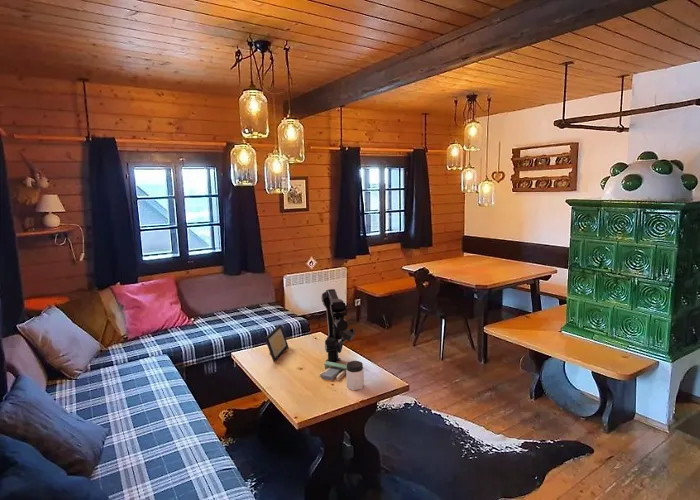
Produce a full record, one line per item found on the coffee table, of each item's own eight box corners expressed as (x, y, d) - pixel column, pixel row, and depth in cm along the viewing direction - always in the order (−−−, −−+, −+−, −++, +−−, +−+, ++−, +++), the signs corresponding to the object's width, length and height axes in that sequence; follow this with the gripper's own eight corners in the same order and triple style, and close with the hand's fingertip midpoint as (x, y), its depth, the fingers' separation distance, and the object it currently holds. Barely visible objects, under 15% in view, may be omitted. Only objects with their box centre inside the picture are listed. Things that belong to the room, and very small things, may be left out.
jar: (348, 391, 215) (347, 368, 213) (345, 384, 223) (344, 362, 221) (366, 388, 217) (365, 366, 215) (362, 381, 225) (361, 359, 223)
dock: (328, 367, 244) (327, 360, 244) (353, 372, 236) (352, 365, 236) (315, 376, 234) (315, 369, 233) (341, 381, 226) (341, 375, 225)
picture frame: (275, 361, 254) (270, 337, 252) (261, 362, 256) (256, 338, 254) (288, 346, 277) (284, 324, 274) (275, 347, 278) (271, 325, 276)
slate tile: (332, 370, 241) (332, 366, 241) (342, 372, 238) (342, 367, 238) (321, 379, 230) (321, 375, 230) (331, 381, 228) (331, 377, 227)
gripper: (342, 332, 217) (343, 362, 220) (360, 321, 233) (361, 348, 235) (323, 329, 223) (325, 358, 225) (342, 318, 238) (343, 345, 241)
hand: (339, 352), depth 232 cm, fingers closed
